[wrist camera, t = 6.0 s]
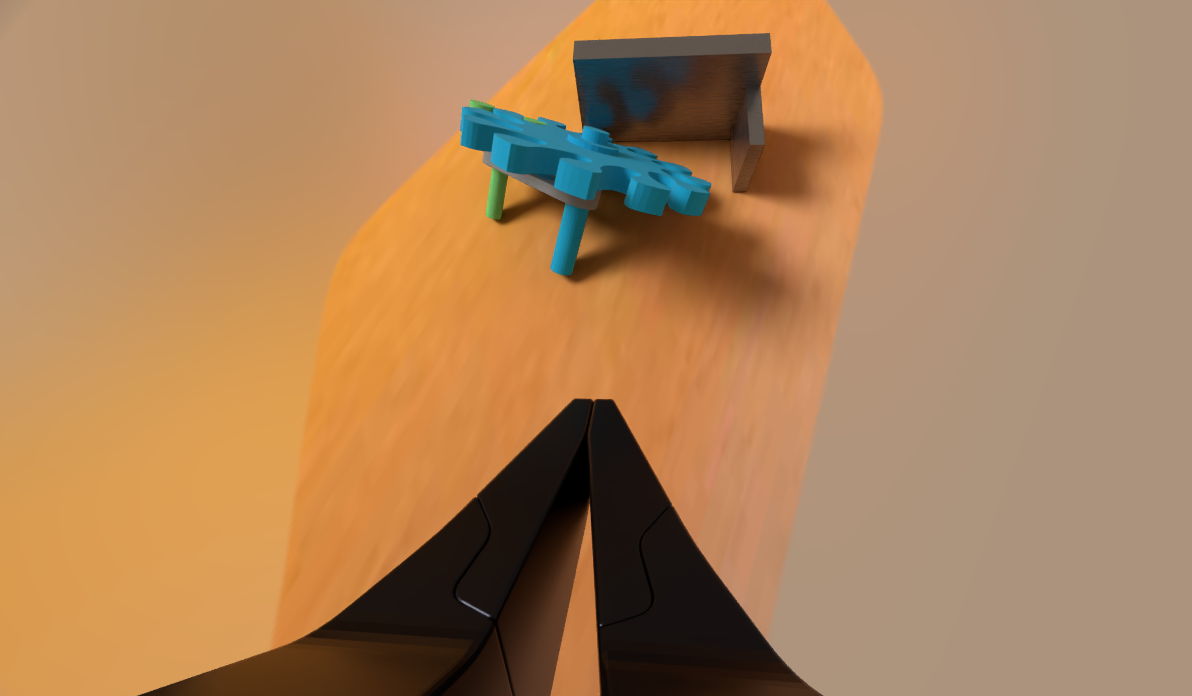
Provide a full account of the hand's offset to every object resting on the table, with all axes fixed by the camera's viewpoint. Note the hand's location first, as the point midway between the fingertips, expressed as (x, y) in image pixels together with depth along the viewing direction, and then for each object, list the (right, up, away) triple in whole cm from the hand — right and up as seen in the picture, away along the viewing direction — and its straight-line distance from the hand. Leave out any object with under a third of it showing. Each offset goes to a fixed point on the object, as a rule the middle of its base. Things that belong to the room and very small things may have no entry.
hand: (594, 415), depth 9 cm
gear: (0, +8, +12) cm, 14 cm away
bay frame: (+3, +11, +12) cm, 16 cm away
